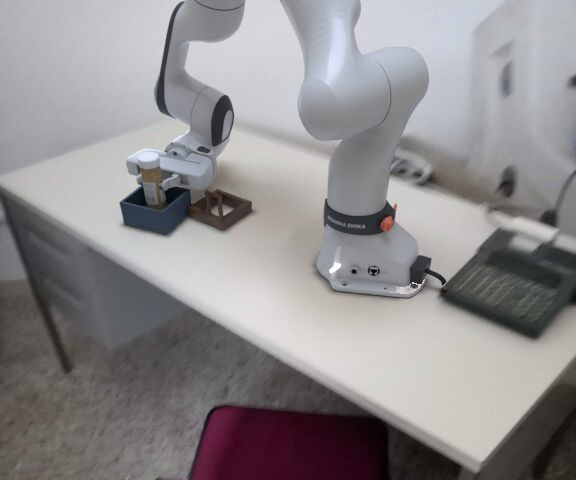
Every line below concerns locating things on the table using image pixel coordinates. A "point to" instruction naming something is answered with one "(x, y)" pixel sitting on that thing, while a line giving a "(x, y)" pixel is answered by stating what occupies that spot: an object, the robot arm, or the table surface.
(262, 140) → the table surface
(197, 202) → the rack
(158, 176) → the sprinkles bottle
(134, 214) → the open box
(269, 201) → the table surface
